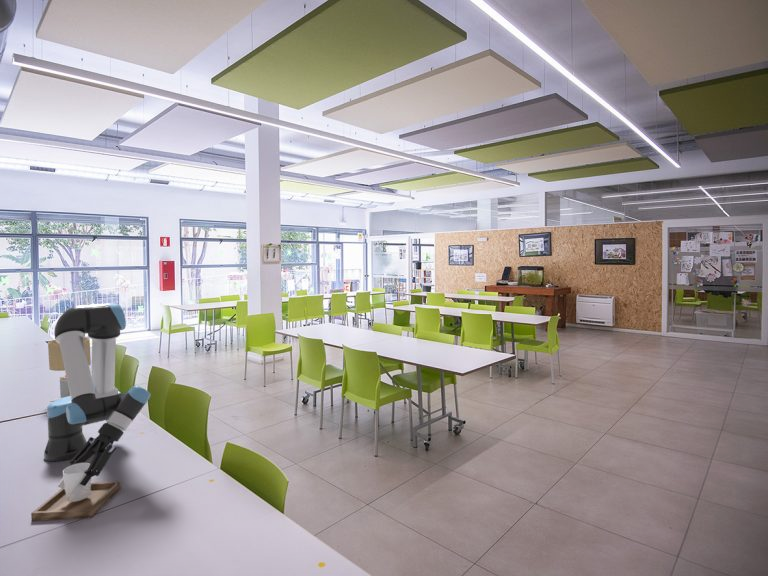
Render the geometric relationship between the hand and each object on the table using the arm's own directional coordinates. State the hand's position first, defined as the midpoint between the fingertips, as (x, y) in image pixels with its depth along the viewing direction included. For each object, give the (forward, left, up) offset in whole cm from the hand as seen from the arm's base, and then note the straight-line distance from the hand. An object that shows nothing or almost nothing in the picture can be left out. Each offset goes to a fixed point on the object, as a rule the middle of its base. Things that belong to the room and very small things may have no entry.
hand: (66, 490), depth 144 cm
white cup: (+2, +3, -4) cm, 5 cm away
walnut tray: (+2, +3, -6) cm, 7 cm away
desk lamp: (-66, +114, -6) cm, 132 cm away
